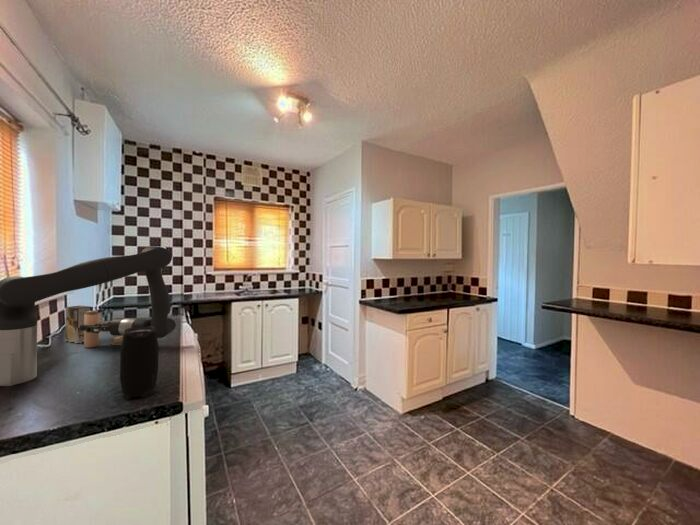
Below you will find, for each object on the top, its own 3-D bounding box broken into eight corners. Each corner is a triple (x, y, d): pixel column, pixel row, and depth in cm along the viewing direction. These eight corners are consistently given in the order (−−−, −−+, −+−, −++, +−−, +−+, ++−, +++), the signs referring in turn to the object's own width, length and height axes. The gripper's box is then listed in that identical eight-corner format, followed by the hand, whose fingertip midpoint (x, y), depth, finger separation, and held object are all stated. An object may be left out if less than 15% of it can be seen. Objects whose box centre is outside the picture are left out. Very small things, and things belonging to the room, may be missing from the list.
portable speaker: (114, 396, 89) (115, 329, 89) (148, 385, 97) (149, 324, 97) (129, 404, 85) (130, 334, 85) (163, 392, 93) (164, 327, 93)
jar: (93, 347, 132) (93, 312, 132) (80, 347, 132) (81, 312, 132) (102, 344, 138) (102, 310, 137) (90, 344, 137) (90, 310, 137)
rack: (133, 345, 139) (134, 339, 139) (111, 344, 138) (111, 339, 138) (150, 338, 151) (150, 333, 151) (129, 337, 150) (129, 332, 150)
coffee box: (93, 340, 144) (94, 306, 144) (78, 344, 138) (78, 308, 138) (79, 338, 147) (80, 305, 147) (64, 342, 141) (64, 307, 141)
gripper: (136, 315, 143) (98, 314, 142) (113, 321, 128) (71, 321, 127) (136, 331, 143) (98, 331, 142) (113, 339, 128) (71, 339, 128)
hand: (85, 326), depth 135 cm, fingers closed on jar, 5 cm apart
